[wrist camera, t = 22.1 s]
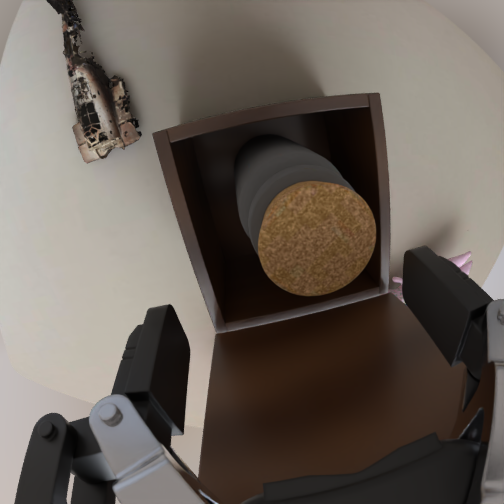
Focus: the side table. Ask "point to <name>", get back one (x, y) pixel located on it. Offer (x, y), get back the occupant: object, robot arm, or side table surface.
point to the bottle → (301, 216)
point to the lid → (322, 396)
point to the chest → (226, 209)
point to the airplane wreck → (94, 96)
